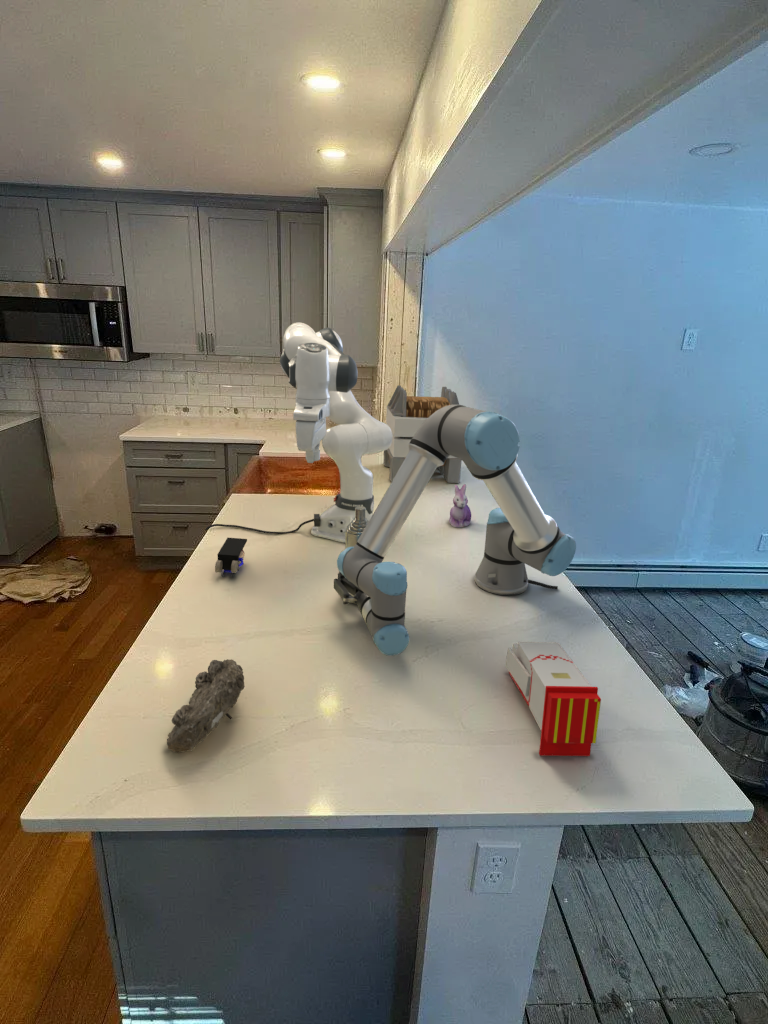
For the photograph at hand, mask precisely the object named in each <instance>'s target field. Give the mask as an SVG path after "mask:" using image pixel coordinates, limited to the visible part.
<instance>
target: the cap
mask: <svg viewBox="0 0 768 1024" xmlns="http://www.w3.org/2000/svg"><path fill="white" fill-rule="evenodd" d="M314 455H315V461H314V462H319V461H320V460H321V449H320V448H319V449H314ZM305 461H307V455H306V454H305Z"/></svg>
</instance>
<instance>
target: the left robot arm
mask: <svg viewBox="0 0 768 1024" xmlns="http://www.w3.org/2000/svg"><path fill="white" fill-rule="evenodd" d="M282 342H283V343H282V344H283V349H282V353H281V354H280V357H279V363H280V368H281V371H282V373H283V374H284V375H285V376H286V377H287V378H288V384H289V385H290V386H292V387H293V388H294V389H295V390H296V391H295V405H294V406H295V407H294V411H293V415H292V417H293V420H294V421H295V438H296V447H297V450H298V451H299V452H305V456H306V455H307V460H306V462H307V463H308V464H314V462H316V461H315V455H314V449H319V450H320V446H321V447H322V449H323V451H324V453H325V455H326V456H328V457H329V458H330V459H332V461H334V463H335V465H336V466H337V470H338V472H339V482H340V484H339V485H340V488H339V489H340V490H339V491H338V492H337V494H336V495H335V496H334V497H333V502H334V504H333V505H331V506H329V507H328V508H326V509H325V510H323V512H321V514H320V513H313V518H312V519H308V520H306V521H304V522H303V521H302V522H301V523H300V524H299V525H298V526H297V528H295V529H293V530H290V531H270V530H269V531H268V530H263V529H257V528H253V527H247V526H242V525H237V524H225V523H224V524H223V523H213V524H210V525H209V526H207V527H206V528H205V529H204V531H209V529H211V528H213V527H222V528H223V527H225V528H237V529H241V530H242V529H243V530H247V531H252V532H257V533H262V534H268V535H269V534H270V535H285V534H294V533H296V532H298V531H299V530H301V528H302V527H303V526H304V525H306V524H309V523H312V522H313V526H312V528H311V530H310V533H311V536H315V537H319V538H323V539H326V540H330V541H336V542H339V543H343V544H345V530H346V528H347V526H348V525H349V523H351V521H352V520H354V518H355V508H356V507H357V506H363V507H365V508H366V516H365V518H367V520H368V521H369V520H370V519H371V517H372V515H373V513H374V511H375V510H374V509H375V496H374V474H373V472H372V471H371V469H369V468H368V467H366V466H364V465H363V463H362V457H364V456H370V455H371V456H372V455H377V454H380V453H382V452H384V451H385V450H387V449H388V448H389V447H390V446H391V443H392V432H391V429H390V428H389V426H388V425H387V423H386V422H383V421H381V420H378V419H377V418H376V417H374V416H372V415H371V414H370V413H369V412H367V411H366V409H364V408H363V407H362V406H361V405H360V404H359V402H358V400H357V398H356V397H355V395H354V393H353V392H352V390H353V388H354V387H355V386H356V385H357V382H358V375H359V372H358V371H359V370H358V366H357V362H356V361H355V360H354V358H353V357H352V356H350V355H349V354H345V353H344V348H343V345H344V344H343V340H342V338H341V337H340V335H339V334H338V332H336V331H335V330H333V328H331V327H329V326H328V327H324V328H321V329H319V331H317V332H316V331H315V330H314V328H312V327H311V326H310V325H308V324H307V323H304V322H299V321H298V322H293V323H292V324H290V325H289V326H288V327H287V328H286V329H285V332H284V334H283V339H282ZM327 418H328V419H329V421H330V422H332V423H334V424H336V425H335V426H332V427H329V428H327Z"/></svg>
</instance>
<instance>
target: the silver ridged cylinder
mask: <svg viewBox="0 0 768 1024" xmlns="http://www.w3.org/2000/svg"><path fill="white" fill-rule="evenodd" d="M365 516H366V508H365V507H363V506H357V507H356V508H355V518H354V520H352V521H351V523H349V525H348V526H347V528H346V530H345V543H344V545H345V546H344V547H345V548H344V550H345V549H346V548H348V547H354V546H355V545H356V543H357V541H358V539H359V538H360V536H361V534H362V533H363V531H364V529H365V527H366V526H367V524H368V522H369V521H368V520H367V518H365ZM350 595H351V596H353V595H352V594H351V593H350ZM350 603H351V604H356V603H354V602H350ZM356 605H357V604H356Z"/></svg>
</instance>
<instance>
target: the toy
mask: <svg viewBox="0 0 768 1024" xmlns="http://www.w3.org/2000/svg"><path fill="white" fill-rule="evenodd" d="M511 646H512V647H508V648H507V653H506V658H505V659H506V660H505V668H506V669H507V671H508V675H509V676H510V677H511V679H512V681H513V682H514V684H515V686H516V688H517V689H518V691H519V693H520V694H521V696H522V698H523V700H524V702H525V703H526V705H527V706H528V708H529V710H530V712H531V715H532V716H533V718H534V720H535V722H536V723H537V724H536V725H537V726H538V727H539V730H540V731H541V733H540V739H539V740H540V741H539V749H538V751H539V752H538V754H539V756H543V757H548V756H550V757H551V756H552V757H553V756H554V757H568V756H569V757H591V751H592V744H596V743H597V734H598V726H599V717H600V710H601V702H602V698H601V697H600V696H599V694H598V693H599V688H598V686H592V684H590V682H589V681H588V680H587V678H586V677H585V676H584V675H583V673H582V672H581V671H580V669H579V668H578V667H577V665H576V664H575V663H574V661H573V660H572V659H571V658H570V656H569V655H568V654H567V652H566V651H565V649H564V647H562V645H561V644H560V643H559V642H553V641H551V642H549V641H548V642H547V641H546V642H545V641H517V642H512V645H511Z"/></svg>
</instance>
